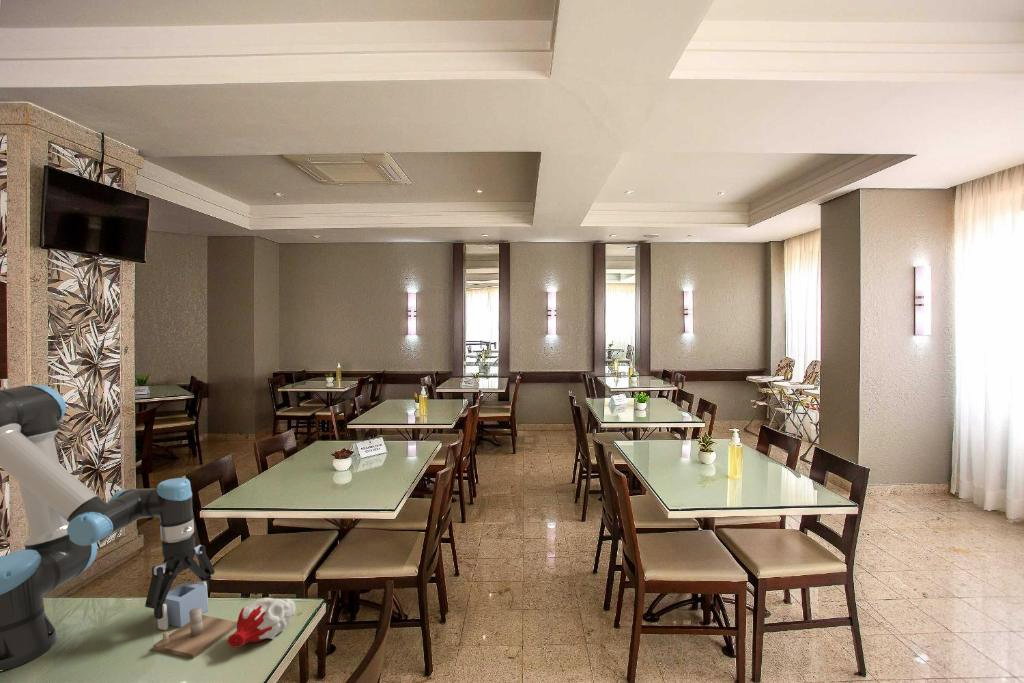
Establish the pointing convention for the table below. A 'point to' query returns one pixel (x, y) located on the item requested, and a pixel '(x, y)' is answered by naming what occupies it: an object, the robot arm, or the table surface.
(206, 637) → the post base
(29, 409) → the robot arm
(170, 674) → the table surface
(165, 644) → the dowel
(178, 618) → the square nut with handle
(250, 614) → the candle
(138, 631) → the table surface
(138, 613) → the table surface
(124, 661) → the table surface
